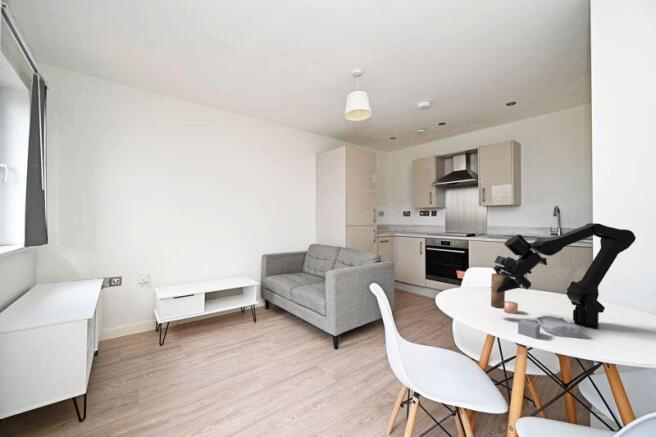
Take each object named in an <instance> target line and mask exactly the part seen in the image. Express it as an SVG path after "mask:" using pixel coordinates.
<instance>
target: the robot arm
mask: <svg viewBox="0 0 656 437" xmlns="http://www.w3.org/2000/svg"><path fill="white" fill-rule="evenodd" d="M593 236H595V237H597V238H600V240H599V242H600V248H599V250H598V252H597V253H596V256H595V257H594V258H593V260H592V262H591V264H590V265H589V267H588V268H587V270H586V271H585V274H584V275H583V277H582V278H581V279H580V280H578V281H574V280H572V281H571V282H570V284H569V286H568V287H567V288H566V296H567V298H568V299H569V300H570V303H571V305H573V306H574V307H575V308H574V309H573V310H572V321H573V324H576V325H577V326H583V327H587V328H591V329H596V330H598V329H599V326H600V323H599V319H600V318H599V316H600V315H599V313H601V314H603V313H604V312H605V309H606V307H605V306H604V305H603V304H602V303H600V301H599V300H598V299H599V296H600V295H599V294H600V293H599V286H600V284H601V282H602V281H603V280H604V278H605V276H606V275H607V273H608V271H609V270H610V268H611V267H612V265H613V264H614V261H615V260H616V259H617V257H618V256H619V254H621V253H622V252H624V251H626V250H628V249H629V248H630V247H631V246H632V245H633V244H634V243H635V241H636V238H637V237H636V235H635V232H633V231H632V230H630V229H626V228H625V229H621V228H615V227H611V226H608V225H604V224H601V223H595V222H594V223H593V222H590V223H586V224H585V225H582V226H580V227H578V228H574V229H572V230H569V231H567V232H564V233H562V234H560V235H558V236H553V237H552V236H551V237H545V238H540V239H537V240H535V241H533V242H528V241H527V240H526V239H525V238H524V236H523V235H521V234H517V235H515V236H512V237H510V238H508V239H506V241H505V242H504V243H503V244H504V246H505V247H506V248H507V249H508V250H509V251H510V252H511V253H512V254H513V255H515V256H519V257H518V259H514V258H512V257H510V256H507V257H505V256H501V255H497V257H496V258H495V260H494V263H495V264H499V265H495V266H494V267H493V268H492V269H493V270H494V271H495V273H497V274H503V275H505V281H504V282H503V283H502V284H501V285H500V286H499V288H498V289H497V290H496V291H497V292H498V293H500V292H504V291H505V292H507V291H510V290H515V289H521V288H523V289H525V290H529V289H530V288H531V287H532V282H531V281H530V280H529V279H528V278H527V277H526V275H527V274H529V275H531V274H532V273H533V272H532V270H533V269H534V268H536V266H538V265H539V264H541V265H543V266H547V265H548V261H547V258H546V257H542V256H541V255H544V256H548V257H549V256H550V257H551V256H555V255H556V254H557V253H560V252H561V251H562V250H563V249H564V248H565V247H567V246H569V245H571V244H575V243H577V242H578V243H579V242H580V241H582V240H586V239H588V238H591V237H593Z"/></svg>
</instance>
